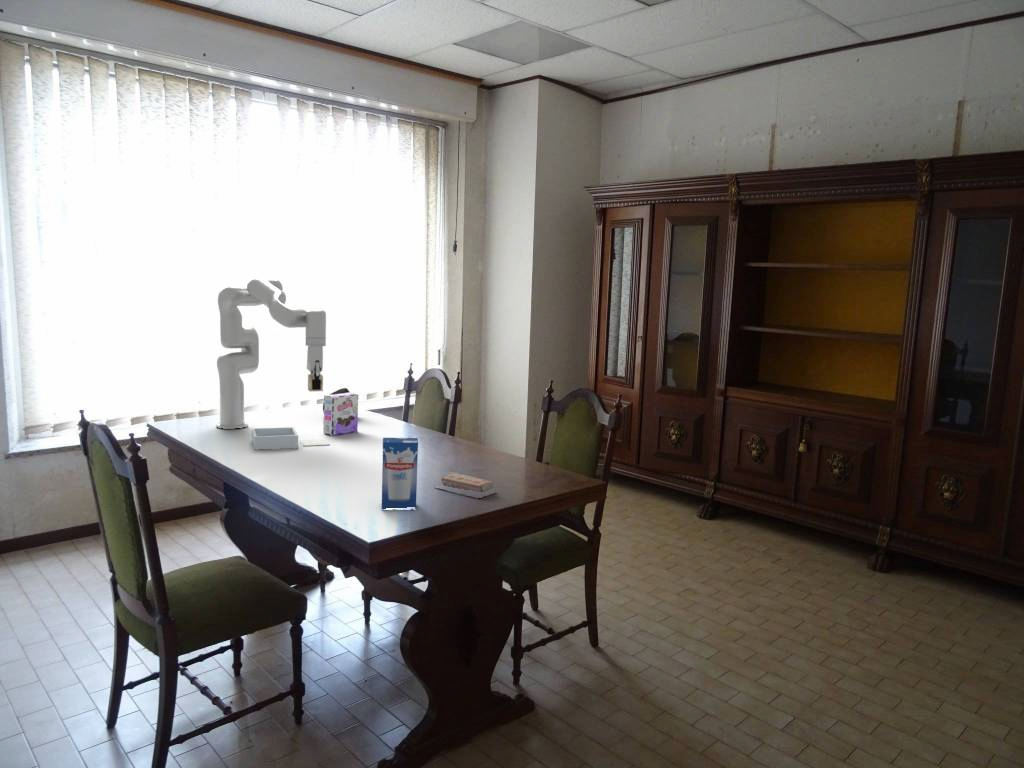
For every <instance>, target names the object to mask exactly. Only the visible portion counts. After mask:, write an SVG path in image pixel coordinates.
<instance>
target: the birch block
mask: <svg viewBox="0 0 1024 768" xmlns="http://www.w3.org/2000/svg"><path fill="white" fill-rule="evenodd" d="M320 377H321V389H320V390H313V389H312V379H313V374H308V373H307V390H308V391H309V392H324V376H323V374H322V373H320Z"/></svg>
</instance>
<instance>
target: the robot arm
mask: <svg viewBox="0 0 1024 768" xmlns="http://www.w3.org/2000/svg"><path fill="white" fill-rule="evenodd" d="M283 289H284V288H283V284H282V282H281V281H280V280H279V279H277V278H275V277H270V276H269V277H268V276H266V277H265V276H255V277H253V278H251V279H249V280H248V281H247V283H246V285H245V284H243V285H242V284H231V285H226V286H224V287H223V288H221V290H220V291H219V292H218V296H217V303H218V304H217V305H218V310H219V316H220V317H219V324H220V325H219V326H220V327H219V329H220V330H219V333H220V343H221V346H222V347H223V348H225V349H229V350H233V349H238V350H239V349H240V351H230V352H229V351H228V352H224V353H222V354H220V355H219V356H218V358H217V359H216V367H217V372H218V379H219V422H217V423H216V424H215V426H216V428H217V427H218V428H217V429H221V428H223V430H236V429H235V428H240V429H244V428H243V427H245V428H247V427H249V423H248V422H247V421H245V384H244V381H243V380H242V377H241V376H240V375H244V374H252V373H254V372H256V370H258V368H259V364H260V363H259V362H260V350H259V349H260V343H259V341H260V339H259V334H258V331H257V330H256V329H255V327H253V326H251V325H243V315H242V312H241V311H240V309H239V307H253V306H254V307H257V306H260V305H264V306H265V307H266V308H268V310H269V311H268V312H269V314H270V317H272V319H273V320H274V321H276V322H277V323H278V324H280V325H281V326H283V327H286V328H289V329H292V328H296V329H297V328H305V346H306V347H307V351H306V352H307V354H306V355H307V356H306V357H307V358H306V370H307V371H309V372H310V374H313V379H312V389H313V390H320V389H321V377H320V374H321V372H323V367H324V365H323V364H324V347H326V345H327V344H326V343H327V341H326V340H327V336H326V335H327V333H326V331H327V314H326V311H325V310H323V309H312V308H309V307H288V306H286V305H285V303H286V302H287V295H286V293H285V292H284V291H283Z"/></svg>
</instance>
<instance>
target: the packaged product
mask: <svg viewBox="0 0 1024 768" xmlns="http://www.w3.org/2000/svg"><path fill="white" fill-rule="evenodd" d="M441 483H442V484H443V485H444V486H448V487H453V488H458V489H464V490H472V491H477V492H486V491H488V490H490V489H492V488H493V489H494V482H493V481H491V480H487V479H484V478H479V477H475V476H470V475H466V474H462V473H459V472H452V471H450V472H448V473H446V474H445V475H444V476H442V477H441Z"/></svg>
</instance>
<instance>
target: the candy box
mask: <svg viewBox="0 0 1024 768" xmlns="http://www.w3.org/2000/svg"><path fill="white" fill-rule="evenodd" d="M323 399H324V400H323V403H324V412H323V434H324V435H327V436H332V437H333V436H339V435H345V434H346V435H347V434H352V433H356V432H358V421H359V420H358V415H359V414H358V413H359V394H358V393H354V392H353V393H352V392H350V393H343V394H334V395H330V394H326V395H324V396H323ZM351 432H352V433H351Z"/></svg>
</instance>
